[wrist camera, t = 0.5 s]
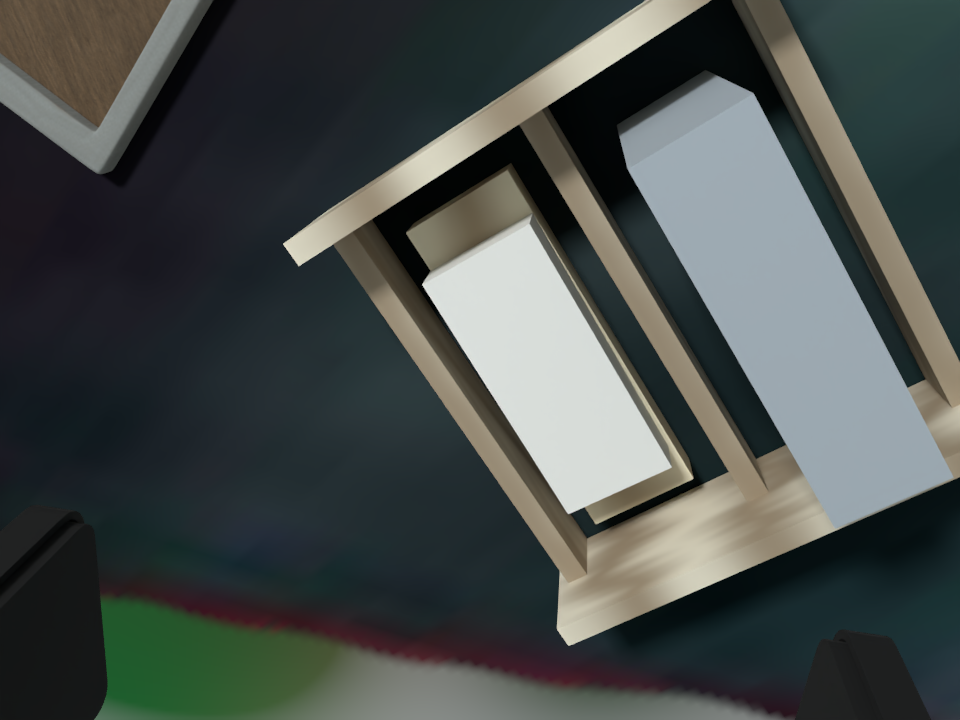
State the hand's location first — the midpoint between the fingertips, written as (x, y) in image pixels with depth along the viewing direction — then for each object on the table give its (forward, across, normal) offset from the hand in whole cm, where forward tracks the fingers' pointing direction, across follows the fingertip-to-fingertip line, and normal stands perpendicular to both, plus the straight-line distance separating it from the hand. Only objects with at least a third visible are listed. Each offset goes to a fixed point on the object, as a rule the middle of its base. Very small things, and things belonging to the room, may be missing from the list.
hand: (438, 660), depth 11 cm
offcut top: (+26, -1, +6) cm, 27 cm away
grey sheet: (+28, -8, +1) cm, 30 cm away
